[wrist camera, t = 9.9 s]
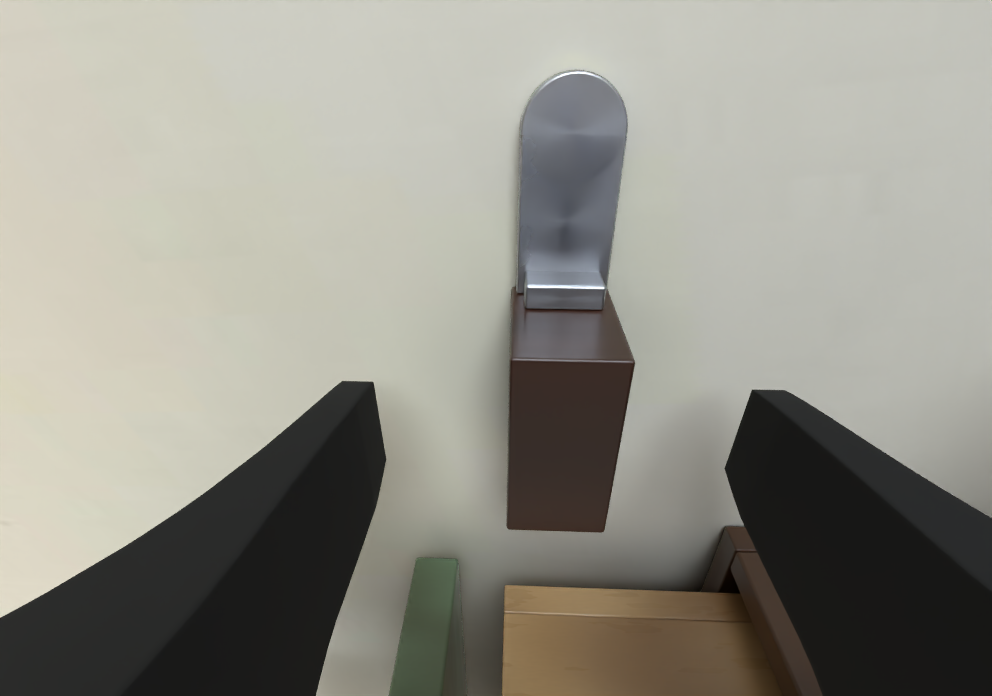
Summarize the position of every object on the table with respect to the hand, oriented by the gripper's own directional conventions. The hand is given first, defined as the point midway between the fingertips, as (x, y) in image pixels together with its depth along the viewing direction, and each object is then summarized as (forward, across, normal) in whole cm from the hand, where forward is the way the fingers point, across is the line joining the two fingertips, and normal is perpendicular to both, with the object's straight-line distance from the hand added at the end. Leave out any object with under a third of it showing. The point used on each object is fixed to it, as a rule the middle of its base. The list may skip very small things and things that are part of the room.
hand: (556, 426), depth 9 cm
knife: (+2, 0, -2) cm, 3 cm away
